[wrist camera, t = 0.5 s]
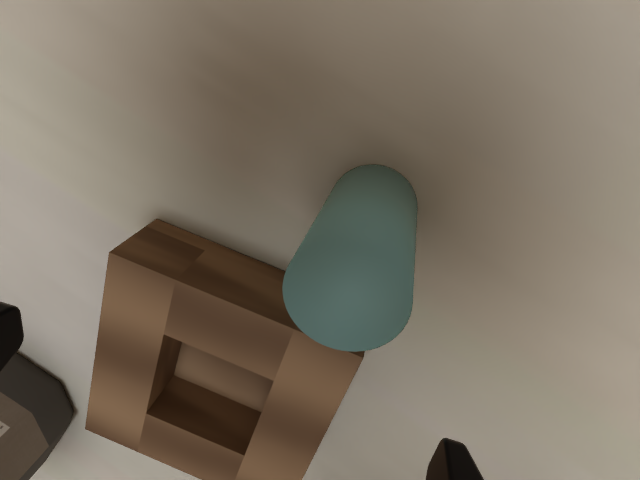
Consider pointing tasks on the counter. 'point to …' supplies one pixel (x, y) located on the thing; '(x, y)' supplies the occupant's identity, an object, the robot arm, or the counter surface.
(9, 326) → the robot arm
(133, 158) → the counter surface
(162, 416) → the socket block
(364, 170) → the pin
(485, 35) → the counter surface
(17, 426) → the liquor
